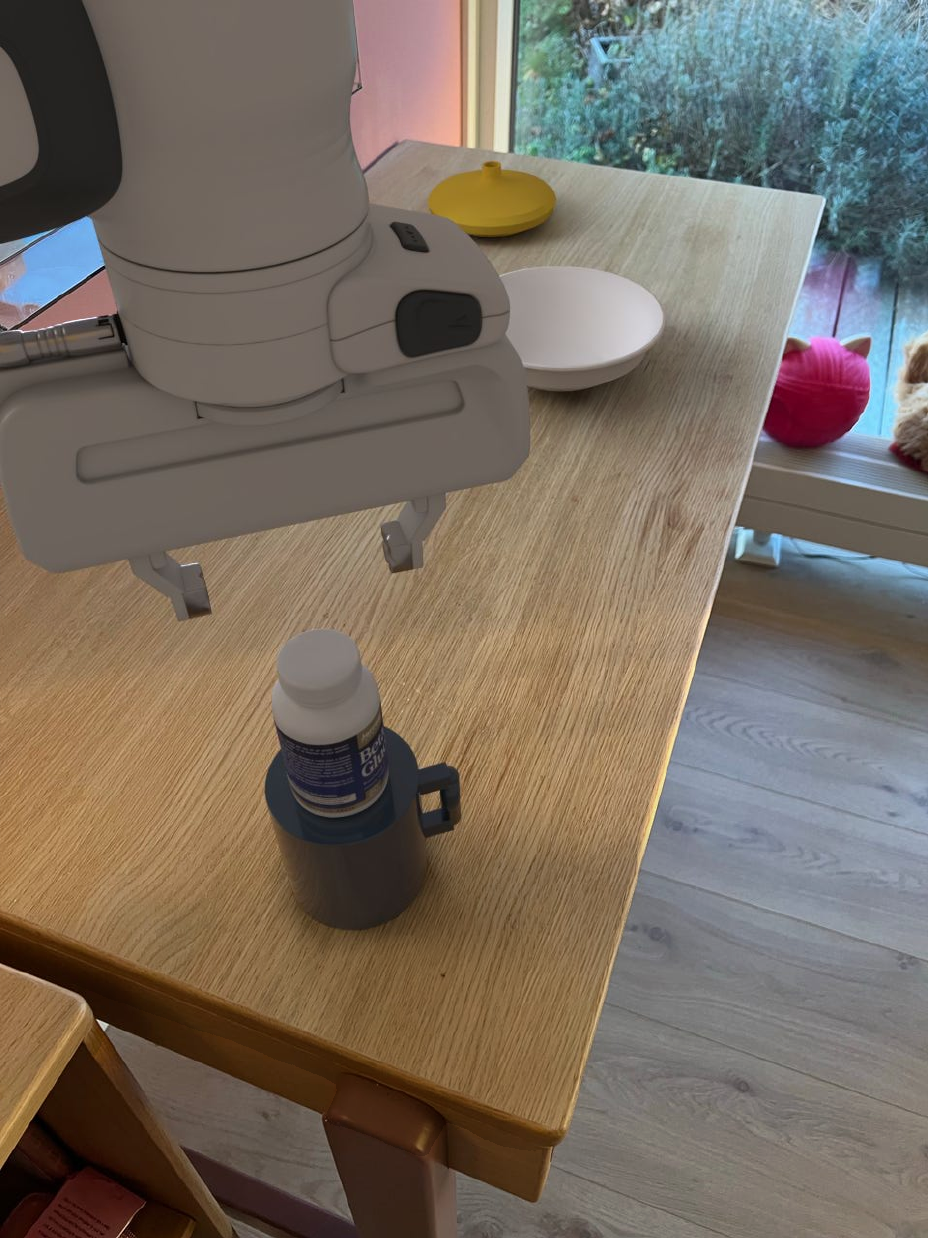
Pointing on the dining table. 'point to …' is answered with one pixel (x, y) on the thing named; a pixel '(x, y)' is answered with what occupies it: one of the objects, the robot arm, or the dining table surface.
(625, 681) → the dining table surface
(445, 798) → the mug
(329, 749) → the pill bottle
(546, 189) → the vase
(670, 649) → the dining table surface
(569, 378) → the bowl
